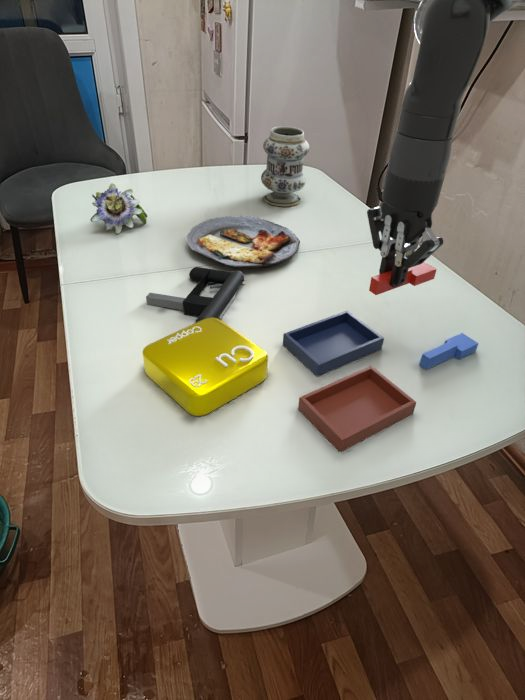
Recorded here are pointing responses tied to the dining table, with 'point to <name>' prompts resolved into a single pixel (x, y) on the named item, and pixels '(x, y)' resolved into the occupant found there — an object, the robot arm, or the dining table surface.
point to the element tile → (205, 365)
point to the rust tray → (356, 407)
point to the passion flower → (117, 208)
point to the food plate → (243, 241)
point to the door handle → (202, 304)
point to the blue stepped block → (449, 350)
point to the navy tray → (332, 342)
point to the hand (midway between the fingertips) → (390, 281)
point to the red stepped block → (414, 277)
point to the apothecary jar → (284, 165)
